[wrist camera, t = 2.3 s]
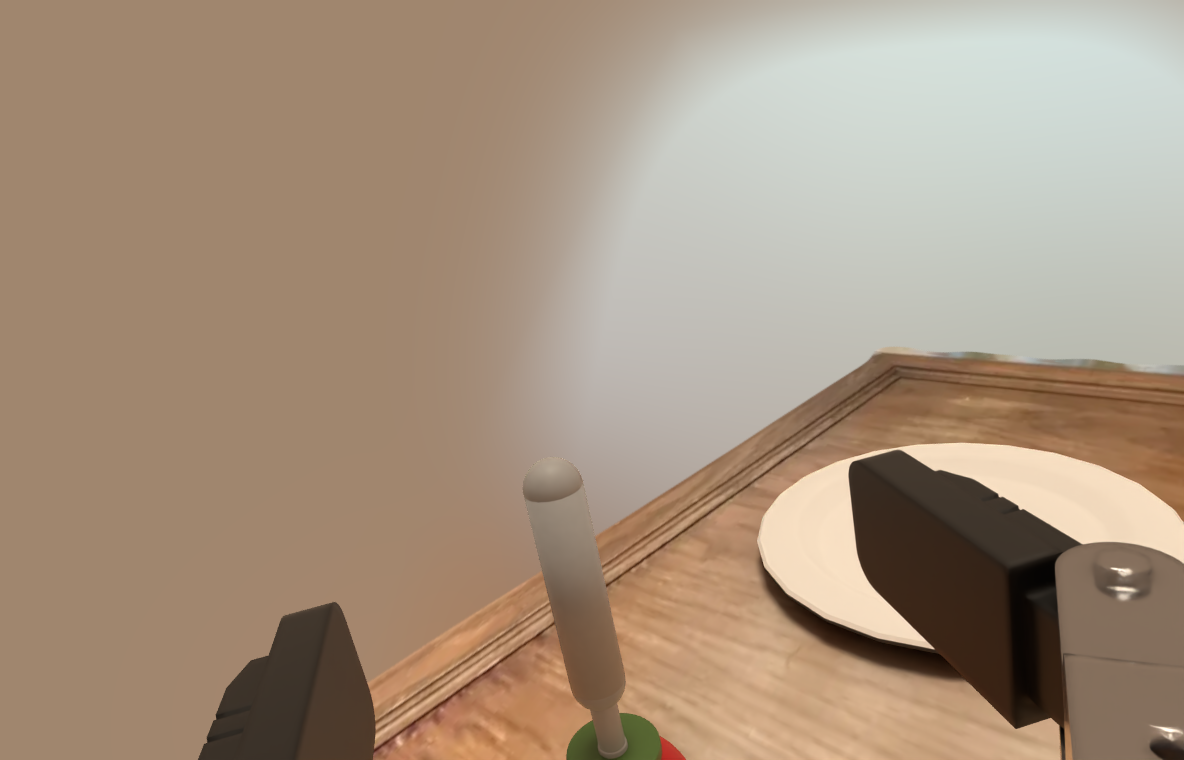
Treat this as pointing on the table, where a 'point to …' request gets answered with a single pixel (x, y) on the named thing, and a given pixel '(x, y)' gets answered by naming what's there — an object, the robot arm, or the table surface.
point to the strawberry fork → (585, 617)
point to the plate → (1023, 476)
